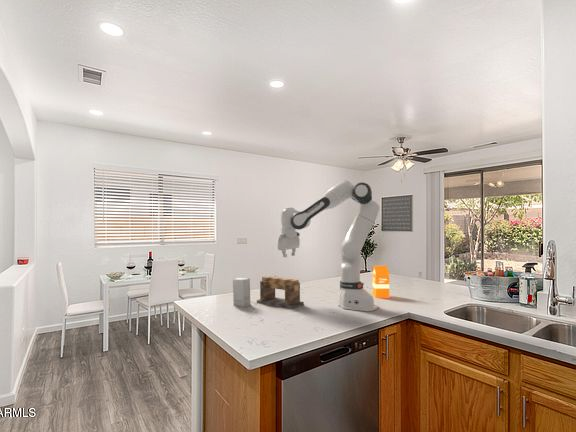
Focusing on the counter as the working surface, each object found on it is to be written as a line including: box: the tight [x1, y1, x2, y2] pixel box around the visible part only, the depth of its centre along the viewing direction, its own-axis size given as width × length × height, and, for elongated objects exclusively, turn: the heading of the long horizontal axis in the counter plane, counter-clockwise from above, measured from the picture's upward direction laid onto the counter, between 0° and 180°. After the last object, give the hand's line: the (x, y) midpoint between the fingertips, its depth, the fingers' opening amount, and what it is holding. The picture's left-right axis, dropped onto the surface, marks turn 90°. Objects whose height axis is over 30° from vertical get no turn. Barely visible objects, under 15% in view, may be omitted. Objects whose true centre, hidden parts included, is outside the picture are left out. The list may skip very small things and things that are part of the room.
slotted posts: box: [256, 280, 305, 310], centre depth 189 cm, size 26×12×13 cm, turn 57°
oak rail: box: [261, 275, 300, 291], centre depth 190 cm, size 24×4×6 cm, turn 56°
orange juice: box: [372, 265, 390, 299], centre depth 207 cm, size 8×9×20 cm
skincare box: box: [232, 277, 252, 308], centre depth 186 cm, size 8×7×16 cm
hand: (289, 256), depth 196 cm, fingers open, 8 cm apart
